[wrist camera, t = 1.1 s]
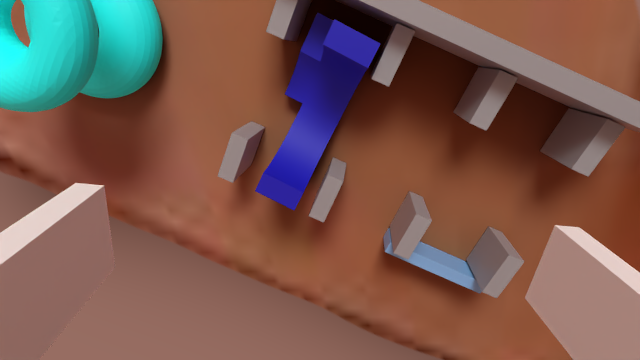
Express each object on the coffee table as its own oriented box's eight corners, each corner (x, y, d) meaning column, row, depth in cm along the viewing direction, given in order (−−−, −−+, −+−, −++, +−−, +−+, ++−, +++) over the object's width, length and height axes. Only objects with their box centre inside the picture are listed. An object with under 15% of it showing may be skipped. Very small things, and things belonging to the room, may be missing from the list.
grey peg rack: (610, 105, 26) (678, 119, 20) (483, 281, 31) (509, 330, 26) (290, -42, 25) (268, -69, 19) (220, 165, 31) (188, 190, 25)
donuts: (39, 149, 21) (-122, 48, 20) (140, 119, 30) (33, 49, 29) (98, -14, 18) (-93, -144, 17) (191, 9, 27) (72, -73, 26)
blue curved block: (322, 16, 26) (311, 6, 21) (377, 45, 26) (380, 43, 21) (259, 157, 30) (235, 181, 25) (307, 181, 31) (294, 210, 25)
